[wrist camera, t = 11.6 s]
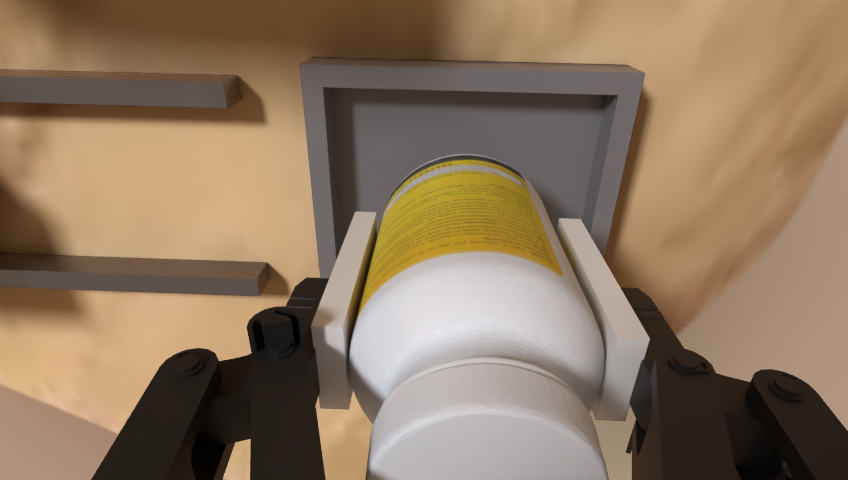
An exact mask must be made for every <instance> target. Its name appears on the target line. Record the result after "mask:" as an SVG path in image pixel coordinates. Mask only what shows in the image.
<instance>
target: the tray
mask: <svg viewBox="0 0 848 480" xmlns="http://www.w3.org/2000/svg"><path fill="white" fill-rule="evenodd" d="M300 74H301V84H302V94H303V105H304V115H305V125H306V136H307V146H308V156H309V167H310V177H311V187H312V198H313V208H314V218H315V228H316V239H317V249H318V259H319V270H320V278H330V276H331V273H332V270H333V268H334V265H335V263H336V260H337V257H338V255H339V252H340V250H341V247H342V245H343V242H344V239H345V237H346V234H347V232H348V229H349V226H350V224H351V221H352V219H353V216H354V214H355V212H376V217H377V235H378V231H379V227H380V223H381V219H382V216H383V212H384V209H385V207H386V204H387V202H388V200H389V198H390V196H391V194H392V193H393V191H394V190H395V188H396V187H397V186H398V185H399V183H400V182H401V181H402V180H403V179H404V178H405V177H406V176H407V175H409V174H410V173H411V172H412V171H413V170H415V169H416V168H418V167H420V166H421V165H423V164H425V163H427V162H429V161H432V160H434V159H437V158H440V157H444V156H449V155H455V154H476V155H482V156H487V157H491V158H494V159H497V160H499V161H501V162H503V163H505V164H507V165H509V166H511V167H512V168H514V169H515V170H517V171H518V172H519V173H521V174H522V175H523V176H524V177H525V178H526V179H527V180H528V181H529V182H530V183H531V185H532V186H533V187H534V188H535V190H536V192H537V193H538V195H539V197H540V199H541V200H542V202H543V204H544V207H545V209H546V212H547V214H548V217H549V219H550V221H551V224H552V226H553V228H554V230H555V233H557V227H558V221H559V218H569V219H581V221H582V222H583V224H584V226H585V228H586V229H587V231H588V233H589V234H590V236H591V238H592V240H593V241H594V243H595V245H596V247H597V248H598V250H599V252H600V253H601V255H602V257H603V259H604V255H605V251H606V246H607V242H608V237H609V233H610V229H611V224H612V220H613V215H614V211H615V206H616V202H617V197H618V193H619V188H620V184H621V179H622V175H623V171H624V166H625V162H626V157H627V153H628V148H629V144H630V139H631V135H632V130H633V126H634V121H635V117H636V113H637V108H638V104H639V99H640V95H641V90H642V86H643V81H644V77H645V73H644V72H642V71H640V70H637V69H635V68H633V67H631V66H628V65H615V64H575V63H535V62H495V61H456V60H416V59H376V58H336V57H312V58H310V59H308V60H306V61H305V62H303V63H301V64H300Z"/></svg>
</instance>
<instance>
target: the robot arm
mask: <svg viewBox="0 0 848 480" xmlns="http://www.w3.org/2000/svg"><path fill="white" fill-rule="evenodd" d="M556 235H557V237H558V239H559V241H560V243H561V246H562V248H563V250H564V252H565V254H566V257H567V259H568V261H569V263H570V265H571V267H572V269H573V272H574V274H575V276H576V278H577V280H578V282H579V284H580V286H581V289H582V291H583V293H584V295H585V297H586V299H587V301H588V303H589V305H590V307H591V310H592V312H593V314H594V317H595V319H596V322H597V324H598V327H599V330H600V333H601V336H602V341H603V347H604V373H603V379H602V384H601V387H600V390H599V393H598V395H597V398H596V400H595V402H594V404H593V406H592V410H593V413H594V416H595V419H596V420H612V421H625V420H626V416H627V413H628V410H629V407H630V405H631V408H632V410H633V412H634V414H635V417H636V421H635V424H634V428H633V431H632V434H631V437H630V440H629V443H628V447H627V450H626V453H631V450H632V480H848V431H847V430H846V429H845V427H844V426H843V425H842V424H841V422H840V421H839V420H838V419H837V417H836V416H835V415H834V414H833V412H832V411H831V410H830V409H829V407H828V406H827V405H826V403H825V402H824V401H823V400H822V398H821V397H820V396H819V394H818V393H817V392H816V391H815V390H814V389H813V388H812V387H811V386H810V385H809V384H807V383H805V382H804V381H802V380H801V379H799V378H797V377H795V376H793V375H790V374H788V373H785V372H781V371H777V370H772V369H767V370H760V371H758V372H756V373H755V374H754V376H753V378H752V380H751V382H747V381H743V380H739V379H735V378H731V377H727V376H723V375H720V374H717V373H715V371H714V369H713V367H712V365H711V364H710V363H709V362H708V361H707V360H706V359H705V358H704V357H702V356H700V355H698V354H697V353H695V352H693V351H690V350H687V349H684V348H683V346H682V345H681V343H680V342H679V340H678V338H677V337H676V335H675V334H674V332H673V331H672V329H671V328H670V326H669V325H668V323H667V322H666V321H664V317H663V316H662V314H661V313H660V311H658V308H657V306H656V305H655V303H654V302H653V300H652V299H651V298H650V297H649V296H647V295H646V294H645V293H643V292H642V291H641V290H639V289H638V288H620V286H619V285H618V283H617V281H616V279H615V278H614V276H613V274H612V272H611V271H610V269H609V267H608V266H607V264H606V262H605V260H604V259H603V257H602V255H601V253H600V252H599V250H598V248H597V247H596V245H595V243H594V241H593V240H592V238H591V236H590V234H589V233H588V231H587V229H586V228H585V226H584V224H583V222H582V221H581V219H569V218H559V221H558V227H557V233H556ZM376 239H377V217H376V212H355V214H354V216H353V219H352V221H351V224H350V226H349V229H348V232H347V234H346V237H345V239H344V242H343V245H342V247H341V250H340V252H339V255H338V257H337V260H336V263H335V265H334V268H333V270H332V273H331V276H330V278H305V279H304V280H303V281H302V282H300V283H299V284H298V285H297V286H295V288H294V290H293V292H292V295H291V297H290V299H289V301H288V303H287V305H286V307H273V308H269V309H265V310H263V311H261V312H259V313H257V314H255V315H254V316H253V317H252V318H251V319H250V320H249V322H248V325H247V331H248V336H249V341H250V347H251V352H252V354H249V355H247V356H243V357H239V358H235V359H229V360H224V361H218V358H217V356H216V354H215V353H214V352H212V351H210V350H208V349H201V348H196V349H189V350H185V351H182V352H180V353H177V354H175V355H173V356H172V357H170V358H169V359H167V360H166V361H165V362H164V363H163V364H162V365H161V366H160V367H159V369H158V371H157V372H156V374H155V376H154V377H153V379H152V381H151V382H150V384H149V386H148V387H147V389H146V390H145V392H144V394H143V395H142V397H141V399H140V400H139V402H138V404H137V405H136V407H135V409H134V410H133V412H132V413H131V415H130V417H129V418H128V420H127V422H126V423H125V425H124V427H123V428H122V430H121V432H120V433H119V435H118V436H117V438H116V440H115V441H114V443H113V445H112V446H111V448H110V450H109V451H108V453H107V455H106V456H105V458H104V460H103V461H102V463H101V465H100V466H99V468H98V469H97V471H96V473H95V474H94V476H93V478H92V479H91V480H222V479H223V476H224V473H225V470H226V467H227V464H228V462H229V459H230V456H231V453H232V450H233V447H234V444H235V442H238V441H243V440H247V439H251V461H250V480H325V472H324V465H323V458H322V451H321V443H320V436H319V429H318V421H317V414H316V407H315V405H316V402H317V399H318V395H319V401H320V408H326V409H349V406H350V401H351V397H352V392H353V386H352V383H351V378H350V371H349V349H350V343H351V338H352V333H353V329H354V325H355V321H356V317H357V314H358V310H359V306H360V302H361V298H362V294H363V290H364V286H365V282H366V278H367V274H368V270H369V266H370V262H371V258H372V254H373V250H374V246H375V243H376Z"/></svg>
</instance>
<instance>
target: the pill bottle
mask: <svg viewBox="0 0 848 480" xmlns="http://www.w3.org/2000/svg"><path fill="white" fill-rule="evenodd" d="M349 371H350V378H351V383H352V386H353V389H354V393H355V395H356V398H357V400H358V402H359V404H360V406H361V408H362V410H363V411H364V413H365V414H366V416H367V417H368V419H369V420H370V422H371V423H372V424H373V427H372V432H371V438H370V447H369V455H368V463H367V472H366V480H608V473H607V470H606V465H605V462H604V458H603V455H602V451H601V448H600V444H599V440H598V437H597V433H596V429H595V427H594V424H593V421H592V418H591V416H590V414H589V411H590V410H591V408H592V406H593V404H594V402H595V400H596V398H597V395H598V393H599V390H600V387H601V384H602V379H603V373H604V347H603V341H602V336H601V333H600V330H599V327H598V324H597V322H596V319H595V317H594V314H593V312H592V310H591V307H590V305H589V303H588V301H587V299H586V297H585V295H584V293H583V291H582V289H581V286H580V284H579V282H578V280H577V278H576V276H575V274H574V272H573V269H572V267H571V265H570V263H569V261H568V259H567V257H566V254H565V252H564V250H563V248H562V246H561V243H560V241H559V239H558V237H557V235H556V233H555V230H554V228H553V226H552V224H551V221H550V219H549V217H548V214H547V212H546V209H545V207H544V204H543V202H542V200H541V199H540V197H539V195H538V193H537V192H536V190H535V188H534V187H533V186H532V185H531V183H530V182H529V181H528V180H527V179H526V178H525V177H524V176H523V175H522V174H521V173H519V172H518V171H517V170H515V169H514V168H512V167H511V166H509V165H507V164H505V163H503V162H501V161H499V160H497V159H494V158H491V157H487V156H482V155H476V154H455V155H449V156H444V157H440V158H437V159H434V160H432V161H429V162H427V163H425V164H423V165H421V166H420V167H418V168H416V169H415V170H413V171H412V172H411V173H410V174H409V175H407V176H406V177H405V178H404V179H403V180H402V181H401V182H400V183H399V185H398V186H397V187H396V188H395V190H394V191H393V193H392V194H391V196H390V198H389V200H388V202H387V204H386V207H385V209H384V212H383V216H382V219H381V223H380V227H379V231H378V235H377V239H376V243H375V246H374V250H373V254H372V258H371V262H370V266H369V270H368V274H367V278H366V282H365V286H364V290H363V294H362V298H361V302H360V306H359V310H358V314H357V317H356V321H355V325H354V329H353V333H352V338H351V343H350V349H349Z"/></svg>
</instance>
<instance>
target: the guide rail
mask: <svg viewBox="0 0 848 480" xmlns="http://www.w3.org/2000/svg"><path fill="white" fill-rule="evenodd" d="M239 101H241V95H240V89H239V82H238V76H237V75H200V74H161V73H123V72H85V71H46V70H8V69H0V102H20V103H56V104H92V105H129V106H165V107H201V108H229V107H230V106H232V105H234V104H235V103H237V102H239ZM268 281H269V275H268V268H267V263H263V262H235V261H206V260H178V259H149V258H120V257H92V256H63V255H35V254H6V253H0V287H20V288H48V289H75V290H102V291H130V292H157V293H184V294H211V295H239V296H260V294H261V293H262V291H263V289H264V288H265V286H266V284H267V282H268Z"/></svg>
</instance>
